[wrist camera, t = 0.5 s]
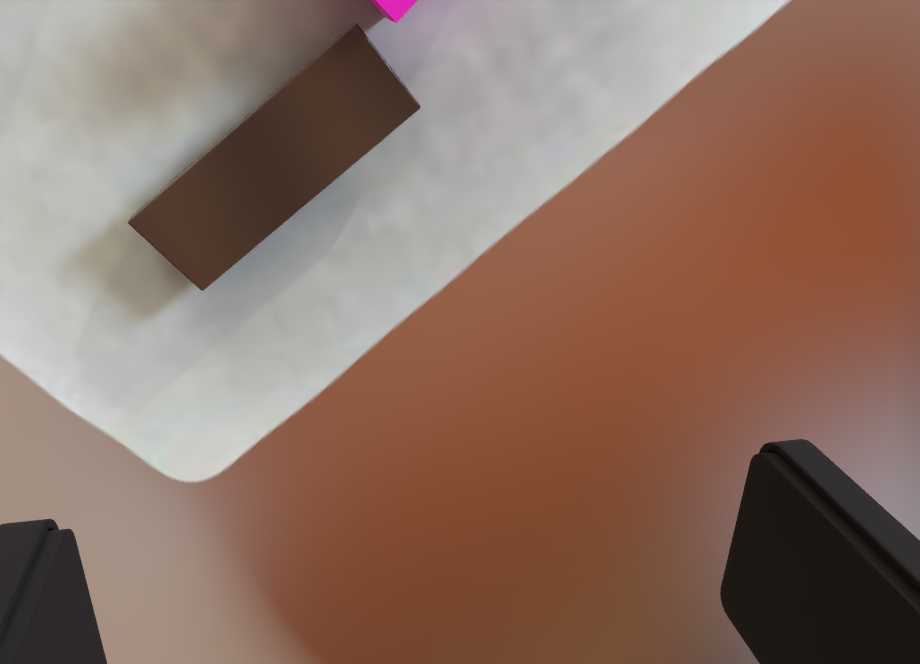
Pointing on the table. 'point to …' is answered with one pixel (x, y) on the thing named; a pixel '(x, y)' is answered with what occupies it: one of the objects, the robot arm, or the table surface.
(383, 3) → the toy block
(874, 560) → the robot arm
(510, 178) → the table surface
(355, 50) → the brown rectangular block
